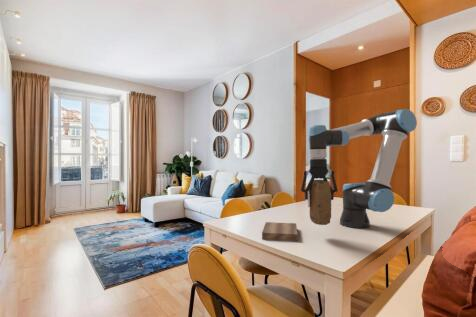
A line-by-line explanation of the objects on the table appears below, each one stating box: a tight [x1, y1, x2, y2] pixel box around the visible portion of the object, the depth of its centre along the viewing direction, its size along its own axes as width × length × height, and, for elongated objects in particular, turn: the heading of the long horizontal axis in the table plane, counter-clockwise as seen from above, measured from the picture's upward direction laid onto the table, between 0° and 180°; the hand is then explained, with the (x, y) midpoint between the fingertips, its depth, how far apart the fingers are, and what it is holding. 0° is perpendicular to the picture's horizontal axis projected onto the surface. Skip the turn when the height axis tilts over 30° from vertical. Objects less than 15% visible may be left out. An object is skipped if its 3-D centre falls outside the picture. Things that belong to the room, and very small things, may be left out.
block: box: [308, 179, 332, 226], centre depth 116 cm, size 11×8×20 cm
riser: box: [261, 221, 298, 242], centre depth 123 cm, size 16×19×3 cm
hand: (319, 206), depth 116 cm, fingers closed on block, 9 cm apart
